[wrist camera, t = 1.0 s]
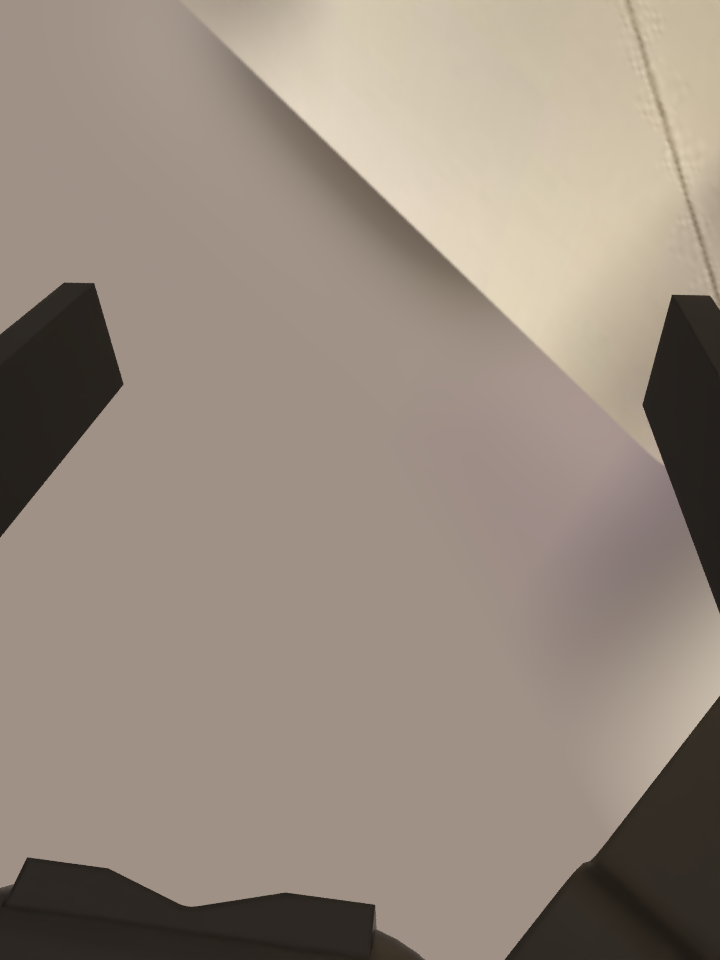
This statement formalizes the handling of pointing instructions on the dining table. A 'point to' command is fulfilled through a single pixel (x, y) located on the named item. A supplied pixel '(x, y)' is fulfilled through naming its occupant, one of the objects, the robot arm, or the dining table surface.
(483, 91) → the dining table surface
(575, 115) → the dining table surface
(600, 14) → the dining table surface
